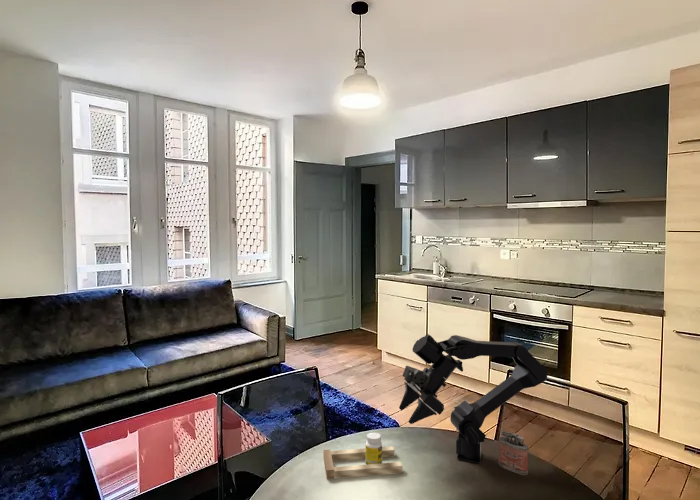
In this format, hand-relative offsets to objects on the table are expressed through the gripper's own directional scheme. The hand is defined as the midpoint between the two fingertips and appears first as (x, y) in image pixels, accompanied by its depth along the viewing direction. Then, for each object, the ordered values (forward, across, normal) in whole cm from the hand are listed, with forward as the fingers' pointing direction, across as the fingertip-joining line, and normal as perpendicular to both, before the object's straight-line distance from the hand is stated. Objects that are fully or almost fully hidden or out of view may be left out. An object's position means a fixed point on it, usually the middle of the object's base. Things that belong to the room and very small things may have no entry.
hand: (404, 415), depth 119 cm
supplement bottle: (+16, -1, +2) cm, 17 cm away
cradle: (+18, -1, 0) cm, 18 cm away
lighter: (-8, +8, +31) cm, 33 cm away
